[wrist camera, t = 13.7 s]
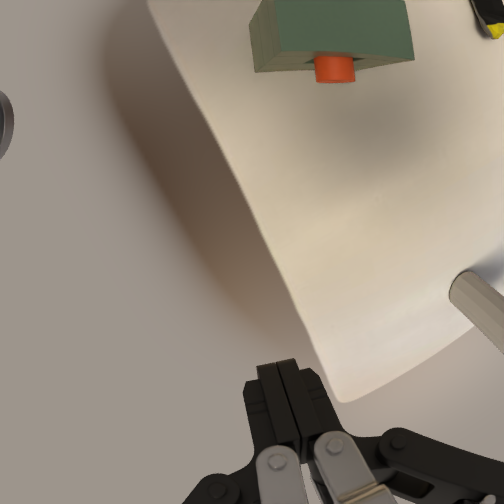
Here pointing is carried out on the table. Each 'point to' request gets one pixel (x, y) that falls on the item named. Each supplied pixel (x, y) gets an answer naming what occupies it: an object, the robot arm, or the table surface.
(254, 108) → the table surface
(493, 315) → the water bottle
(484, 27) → the toy running shoe
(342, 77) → the push knob
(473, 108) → the table surface
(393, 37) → the block
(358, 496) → the robot arm
